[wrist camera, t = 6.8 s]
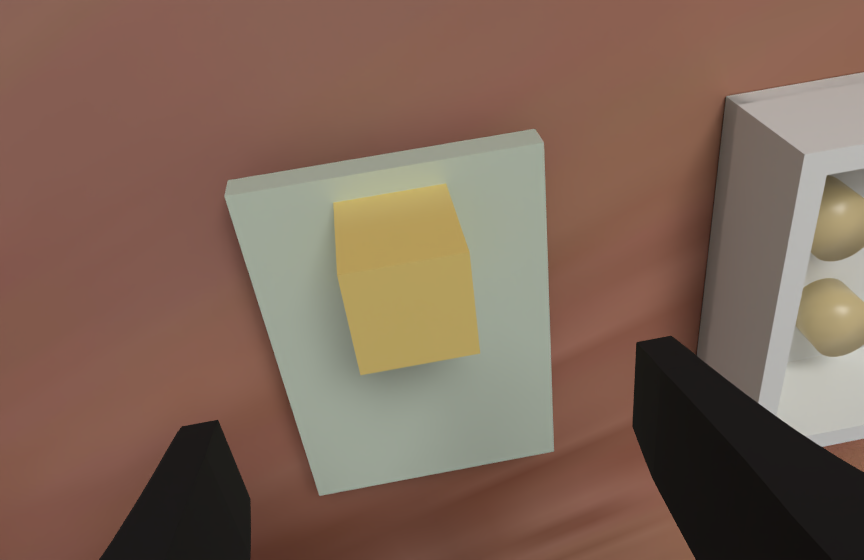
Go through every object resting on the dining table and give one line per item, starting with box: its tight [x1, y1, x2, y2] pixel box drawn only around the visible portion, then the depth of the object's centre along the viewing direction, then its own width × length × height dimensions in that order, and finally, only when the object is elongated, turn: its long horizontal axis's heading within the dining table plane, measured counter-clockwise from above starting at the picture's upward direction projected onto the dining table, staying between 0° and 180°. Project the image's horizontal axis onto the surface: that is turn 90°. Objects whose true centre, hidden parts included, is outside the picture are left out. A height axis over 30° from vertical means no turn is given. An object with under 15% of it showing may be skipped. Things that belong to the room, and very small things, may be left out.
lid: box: [224, 129, 554, 496], centre depth 19 cm, size 10×7×5 cm
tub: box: [697, 72, 864, 447], centre depth 20 cm, size 10×7×4 cm
